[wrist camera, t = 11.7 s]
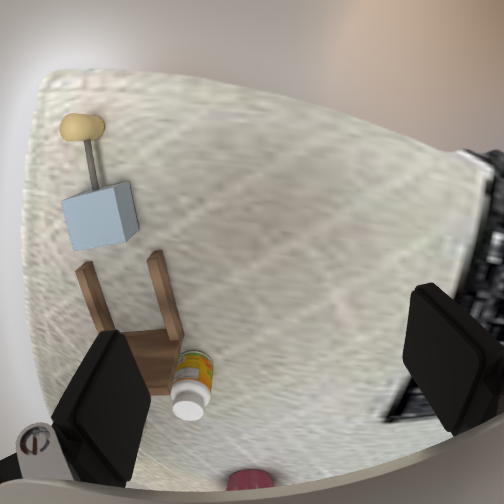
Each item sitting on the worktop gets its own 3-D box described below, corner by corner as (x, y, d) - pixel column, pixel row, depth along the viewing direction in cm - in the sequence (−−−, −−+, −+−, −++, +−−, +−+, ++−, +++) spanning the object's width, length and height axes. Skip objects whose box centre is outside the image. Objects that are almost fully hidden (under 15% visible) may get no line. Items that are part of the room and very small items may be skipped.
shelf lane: (184, 334, 42) (170, 395, 31) (112, 340, 42) (84, 394, 31) (161, 250, 38) (133, 295, 26) (84, 262, 38) (40, 305, 26)
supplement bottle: (214, 377, 45) (211, 424, 36) (180, 376, 45) (171, 423, 36) (211, 349, 43) (207, 397, 34) (174, 349, 43) (163, 396, 34)
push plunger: (139, 229, 36) (123, 244, 31) (90, 238, 36) (70, 253, 31) (117, 108, 31) (97, 104, 26) (68, 124, 31) (44, 123, 26)
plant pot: (268, 457, 53) (274, 509, 41) (290, 481, 58) (296, 525, 46) (206, 470, 55) (204, 519, 43) (234, 493, 59) (235, 535, 47)
